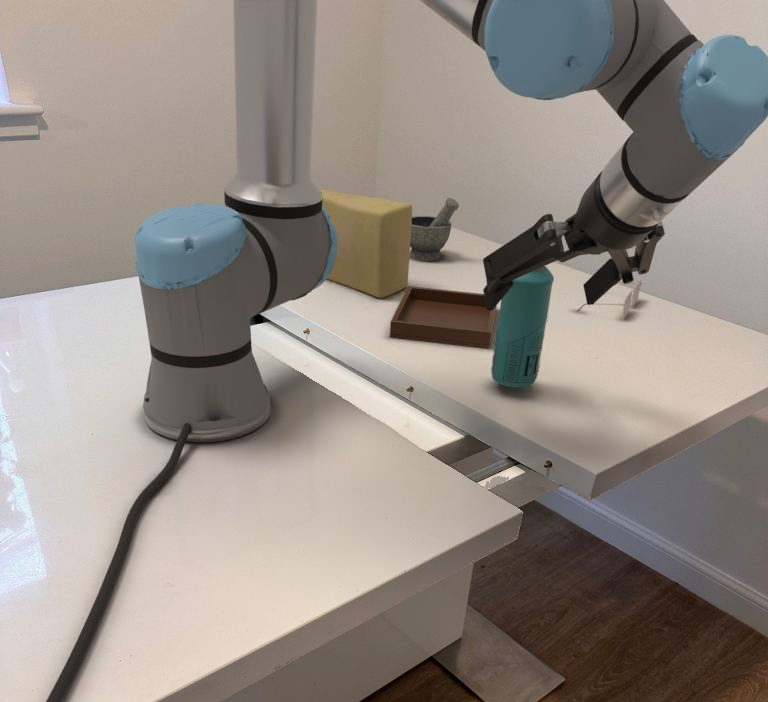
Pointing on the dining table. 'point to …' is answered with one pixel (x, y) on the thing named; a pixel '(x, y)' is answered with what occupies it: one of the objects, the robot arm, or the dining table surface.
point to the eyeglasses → (628, 299)
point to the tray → (443, 317)
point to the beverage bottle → (522, 329)
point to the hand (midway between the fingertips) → (538, 297)
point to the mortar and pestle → (431, 232)
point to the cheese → (370, 242)
